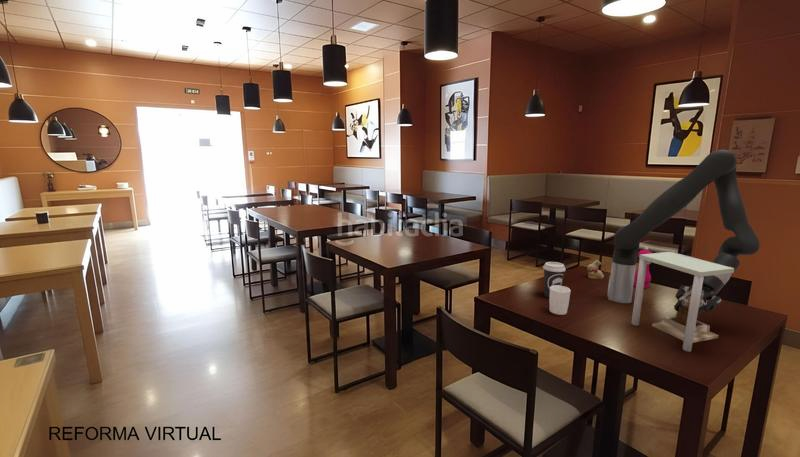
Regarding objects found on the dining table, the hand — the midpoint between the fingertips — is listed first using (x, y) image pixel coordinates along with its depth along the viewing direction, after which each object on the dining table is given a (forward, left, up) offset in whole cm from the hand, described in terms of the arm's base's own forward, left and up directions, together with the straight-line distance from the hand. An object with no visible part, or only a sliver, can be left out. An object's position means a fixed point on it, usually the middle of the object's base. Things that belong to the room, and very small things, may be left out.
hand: (683, 313), depth 138 cm
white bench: (-3, -3, -8) cm, 9 cm away
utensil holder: (+1, +1, -5) cm, 6 cm away
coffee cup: (-45, +20, -8) cm, 50 cm away
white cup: (-42, +2, -8) cm, 42 cm away
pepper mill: (-5, +51, -8) cm, 52 cm away
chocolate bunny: (-25, +57, -8) cm, 63 cm away
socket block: (+1, +1, -8) cm, 8 cm away
